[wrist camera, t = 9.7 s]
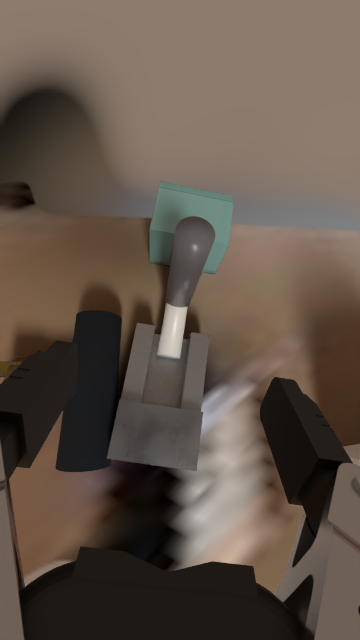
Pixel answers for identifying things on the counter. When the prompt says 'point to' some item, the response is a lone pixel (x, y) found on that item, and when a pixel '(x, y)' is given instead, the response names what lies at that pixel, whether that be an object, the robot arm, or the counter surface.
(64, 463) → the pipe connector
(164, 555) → the counter surface
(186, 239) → the grey piece
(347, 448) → the milk
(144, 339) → the grey grooved block
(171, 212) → the teal block
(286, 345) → the counter surface
